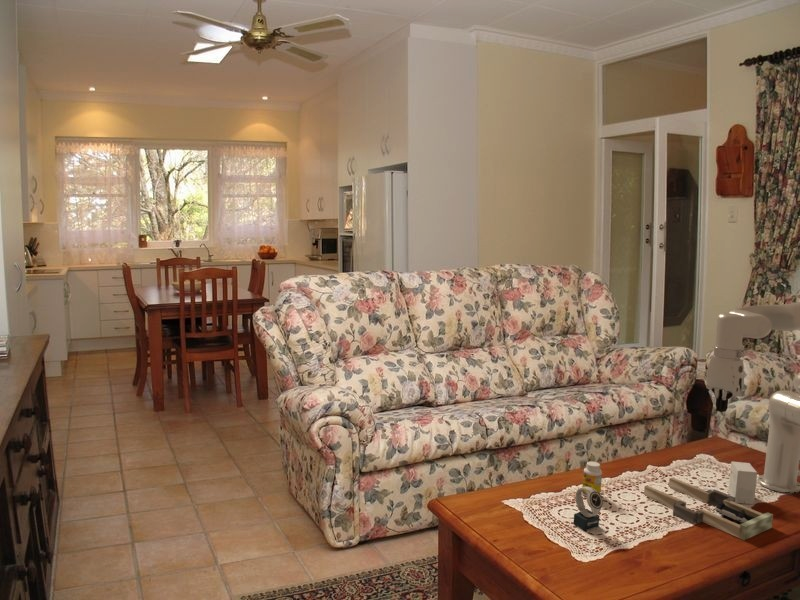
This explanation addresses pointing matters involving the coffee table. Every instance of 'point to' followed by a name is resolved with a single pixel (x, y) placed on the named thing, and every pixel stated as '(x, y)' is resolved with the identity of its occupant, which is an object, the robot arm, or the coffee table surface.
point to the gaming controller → (733, 513)
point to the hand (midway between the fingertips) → (721, 410)
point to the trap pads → (713, 502)
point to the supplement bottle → (592, 477)
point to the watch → (586, 517)
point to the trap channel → (680, 510)
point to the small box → (742, 482)
